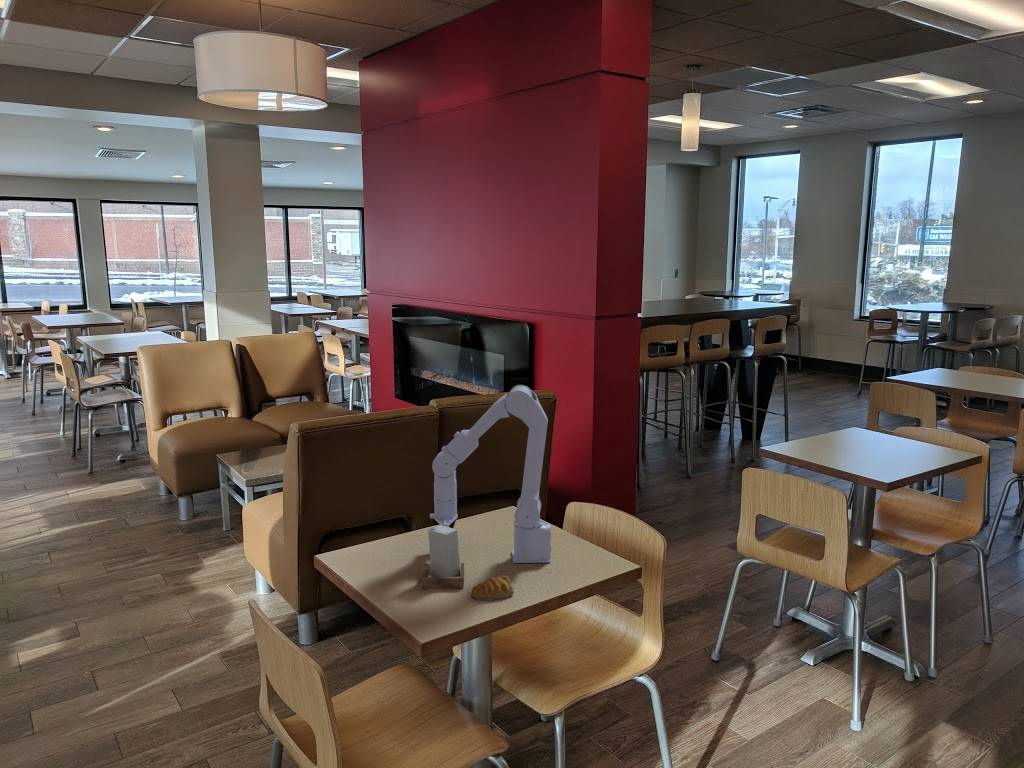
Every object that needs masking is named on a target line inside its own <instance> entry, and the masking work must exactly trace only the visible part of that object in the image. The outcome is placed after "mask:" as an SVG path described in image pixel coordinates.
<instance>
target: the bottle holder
mask: <svg viewBox="0 0 1024 768" xmlns="http://www.w3.org/2000/svg"><path fill="white" fill-rule="evenodd" d="M428 565H429V564H428V563H424V565H423V571H422V577H421V589H422V590H439V588H441V589H442V590H443V589H444V588H452V589H465V586H464V585H465V563H463V562H460V577H432V576H429V577H428V575H429V566H428ZM441 589H440V590H441Z"/></svg>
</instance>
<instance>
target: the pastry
mask: <svg viewBox="0 0 1024 768" xmlns="http://www.w3.org/2000/svg"><path fill="white" fill-rule="evenodd" d="M514 593H515V591H514V586H513V584H512V580H511V579H510V577H509V576H508V575H501V576H494V577H489V578H487V579H486V580H484V581H483V582H480V583H478V584H476V585H475V586H473V587H472V589H471V593H470V594H471V597H473V598H474V599H477V600H479V601H484V600H483V599H495V600H499V599H498V598H500V599H504V597H506V598H509V596H510V597H512V596H513V594H514ZM511 595H512V596H511Z"/></svg>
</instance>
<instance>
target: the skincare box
mask: <svg viewBox="0 0 1024 768" xmlns="http://www.w3.org/2000/svg"><path fill="white" fill-rule="evenodd" d="M427 532H428V533H427V534H428V535H427V536H428V545H429V557H430V558H429V559H430V570H431V571H430V573H431V577H460V570H461V562H460V551H459V548H460V546H459V532H458V529H457V528H449V527H445V526H441V525H438V524H437V525H436V526H434V527H431V528H430V529H428V530H427Z"/></svg>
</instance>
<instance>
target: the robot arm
mask: <svg viewBox="0 0 1024 768" xmlns="http://www.w3.org/2000/svg"><path fill="white" fill-rule="evenodd" d="M511 415H513V416H515V417H516V418H518V419H520V420H521V422H522V423H524V424H525V425H526V427H528V436H527V444H526V451H525V459H524V460H525V461H524V468H523V477H522V486H521V493H520V497H519V498H518V499H517V502H516V510H515V512H514V521H513V549H511V555H512V563H514V564H528V563H531V564H532V563H535V564H536V563H551V561H552V560H551V557H552V556H551V553H552V546H551V545H552V544H551V541H552V533H551V524H550V523H545V522H543V520H542V519H541V509H542V502H541V499H540V488H541V481H542V472H543V465H544V464H543V463H544V456H545V447H546V438H547V430H548V425H549V424H548V423H549V420H548V416H547V414H546V412H545V411H544V409H543V406H542V405H541V402H540V400H539V398H538V395H537V394H536V393H535V392H534V391H533V390H532V389H531V388H530V387H528V386H527V385H523V384H517V385H515V386H513V387H512V388H511V389H510V391H509V393H508V392H506V393H505V394H504V395H503V396H501V397H500V398H499V399H497V400H496V401H495V402H494V403H493V404H492V405H491V406H490V407H489V408H488V410H487V411H486V412H485V413H484V414H483V415H482V416H481V417H480V418H479V419H478V420H477V421H476V422H475V423H474V425H473V426H471V428H470V429H462V430H460V432H459V431H456V432H455V433H454V435H453V437H454V438H453V439H452V440H451V441H450V442H449V443H448V444H447V445H443V446H442V448H441V451H440V452H439V453H438V454H436V456H435V458H434V459H433V461H432V465H431V467H432V472H433V473H434V475H433V476H434V480H433V498H434V499H433V501H434V504H433V506H434V513H430V514H429V519H431V520H432V519H434V520H435V521H436V523H437V526H438V525H441V526H445V527H449V528H453V529H455V524H456V522H457V520H458V517H459V516H458V507H457V506H458V504H457V503H458V497H457V496H458V494H457V492H458V491H457V490H458V489H457V488H458V487H457V470H456V468H457V467H458V465H460V464H462V463H463V462H464V461H465V460H466V459H467V458H468V457H469V456H470V455H471V454H472V453H473V452H475V450H476V449H477V448H478V447H479V438H480V437H482V436H483V435H484V434H485V433H486V432H487V431H488V430H489V429H490V428H491V427H492V426H493V425H494V424H495V423H497V421H498V420H500V419H504V418H510V416H511Z"/></svg>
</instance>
